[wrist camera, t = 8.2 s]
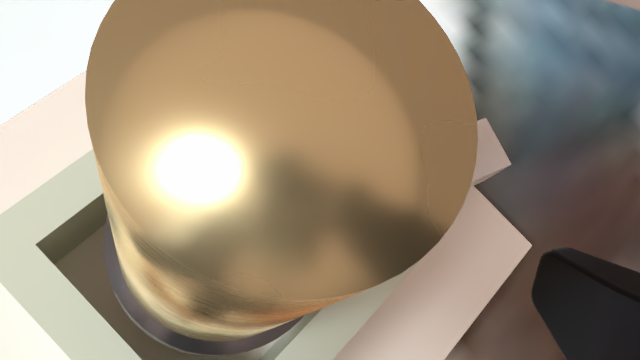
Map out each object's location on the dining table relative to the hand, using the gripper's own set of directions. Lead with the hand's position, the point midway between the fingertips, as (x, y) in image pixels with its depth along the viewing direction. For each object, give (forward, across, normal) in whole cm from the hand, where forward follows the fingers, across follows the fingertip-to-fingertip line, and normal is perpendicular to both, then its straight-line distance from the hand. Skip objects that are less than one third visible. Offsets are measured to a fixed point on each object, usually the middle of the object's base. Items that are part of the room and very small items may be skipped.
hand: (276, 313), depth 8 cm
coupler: (+10, 0, +6) cm, 11 cm away
